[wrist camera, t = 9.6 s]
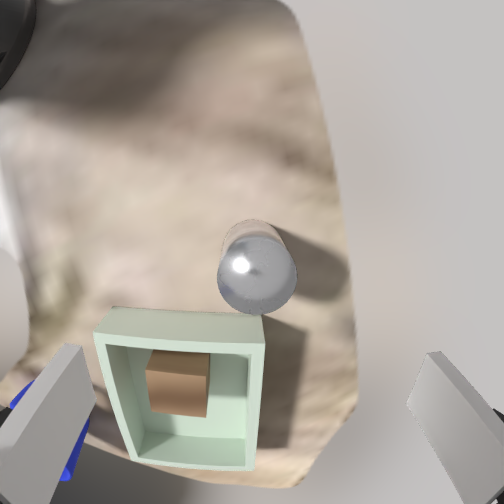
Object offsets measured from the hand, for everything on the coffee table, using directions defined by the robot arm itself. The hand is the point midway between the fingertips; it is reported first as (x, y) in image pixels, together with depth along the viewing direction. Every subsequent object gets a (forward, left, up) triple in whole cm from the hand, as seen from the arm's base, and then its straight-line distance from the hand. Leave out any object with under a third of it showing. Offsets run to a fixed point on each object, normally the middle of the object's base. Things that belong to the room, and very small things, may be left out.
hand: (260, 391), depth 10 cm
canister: (-1, 0, -17) cm, 17 cm away
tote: (+14, -6, -17) cm, 23 cm away
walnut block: (+11, -6, -16) cm, 20 cm away
